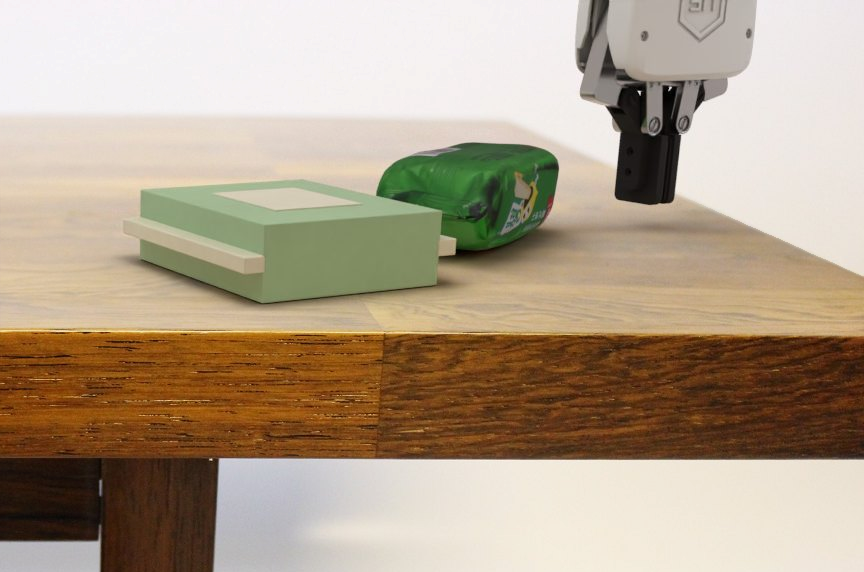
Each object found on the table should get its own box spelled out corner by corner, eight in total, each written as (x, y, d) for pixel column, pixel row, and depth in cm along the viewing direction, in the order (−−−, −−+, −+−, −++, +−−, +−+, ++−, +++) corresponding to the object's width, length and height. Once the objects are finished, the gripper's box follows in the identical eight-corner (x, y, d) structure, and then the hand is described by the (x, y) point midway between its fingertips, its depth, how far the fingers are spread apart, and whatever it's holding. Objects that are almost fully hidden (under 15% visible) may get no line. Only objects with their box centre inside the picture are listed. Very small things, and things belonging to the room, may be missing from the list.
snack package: (350, 257, 79) (356, 157, 77) (453, 217, 91) (461, 130, 90) (479, 273, 75) (489, 169, 73) (568, 229, 88) (578, 140, 86)
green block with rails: (314, 243, 82) (318, 176, 81) (453, 283, 72) (459, 207, 71) (122, 260, 77) (122, 189, 76) (242, 305, 67) (245, 224, 66)
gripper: (631, -140, 76) (597, 219, 82) (826, -131, 83) (781, 200, 89) (529, -131, 82) (504, 202, 88) (718, -123, 89) (683, 186, 95)
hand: (643, 200), depth 88 cm, fingers closed
